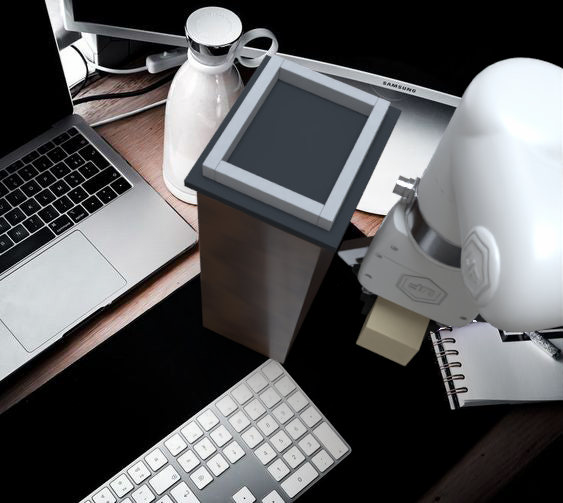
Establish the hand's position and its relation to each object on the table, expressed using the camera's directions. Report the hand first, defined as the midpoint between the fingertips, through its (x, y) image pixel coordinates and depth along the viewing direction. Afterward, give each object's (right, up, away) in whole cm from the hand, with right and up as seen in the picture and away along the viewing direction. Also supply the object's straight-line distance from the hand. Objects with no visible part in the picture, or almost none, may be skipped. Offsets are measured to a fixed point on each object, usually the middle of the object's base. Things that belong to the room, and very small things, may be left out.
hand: (396, 313), depth 59 cm
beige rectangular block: (0, 0, 0) cm, 0 cm away
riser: (-13, +1, +13) cm, 18 cm away
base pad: (-10, +14, -12) cm, 21 cm away
